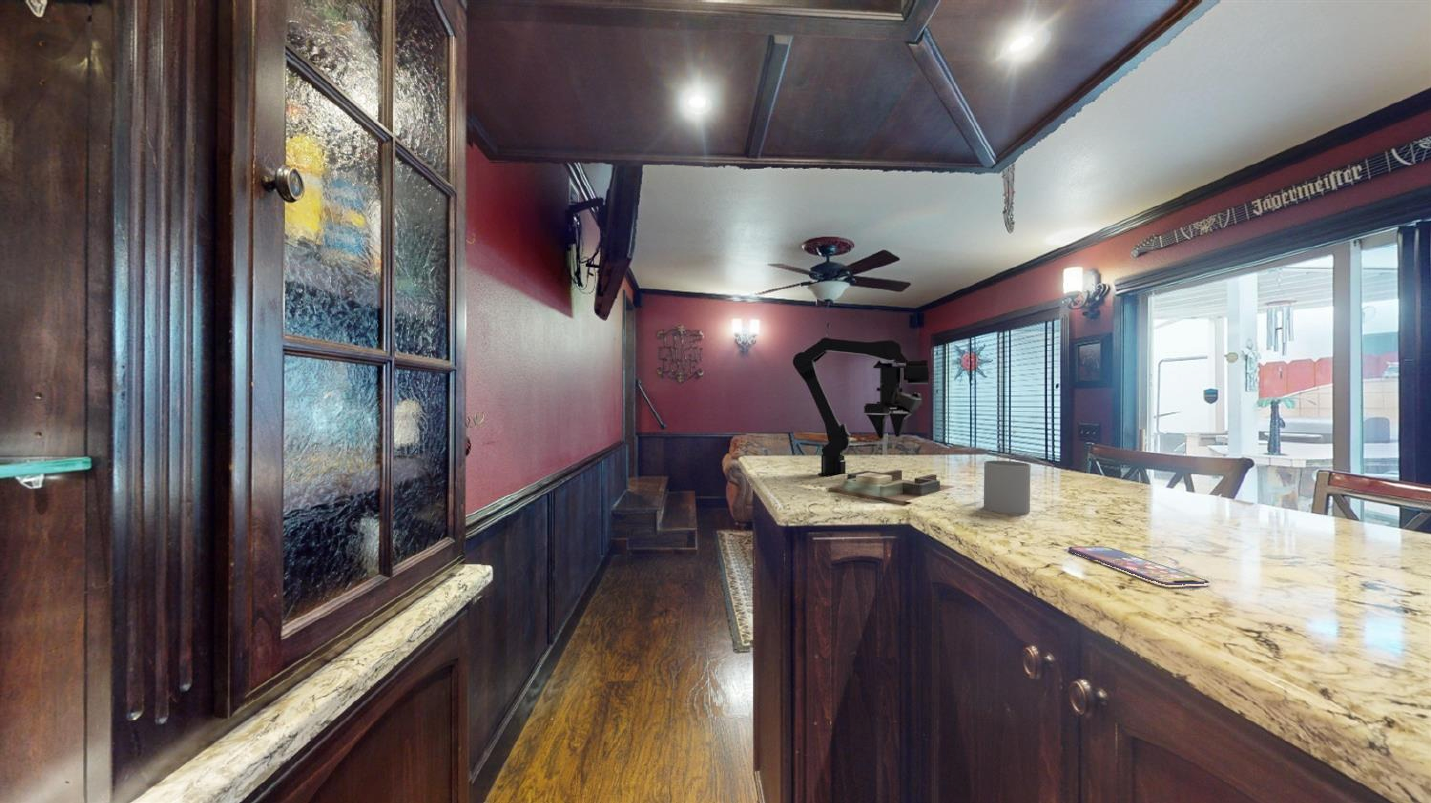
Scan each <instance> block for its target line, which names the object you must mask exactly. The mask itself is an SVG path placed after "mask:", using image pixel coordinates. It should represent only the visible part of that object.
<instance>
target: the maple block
mask: <svg viewBox="0 0 1431 803" xmlns="http://www.w3.org/2000/svg"><path fill="white" fill-rule="evenodd" d="M856 481H858V482H864V483H870V484H877V485H887V484H891V483H892V476H891V475H884V474H877V473H870V472H869V473H864V474H859V475H856Z"/></svg>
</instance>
